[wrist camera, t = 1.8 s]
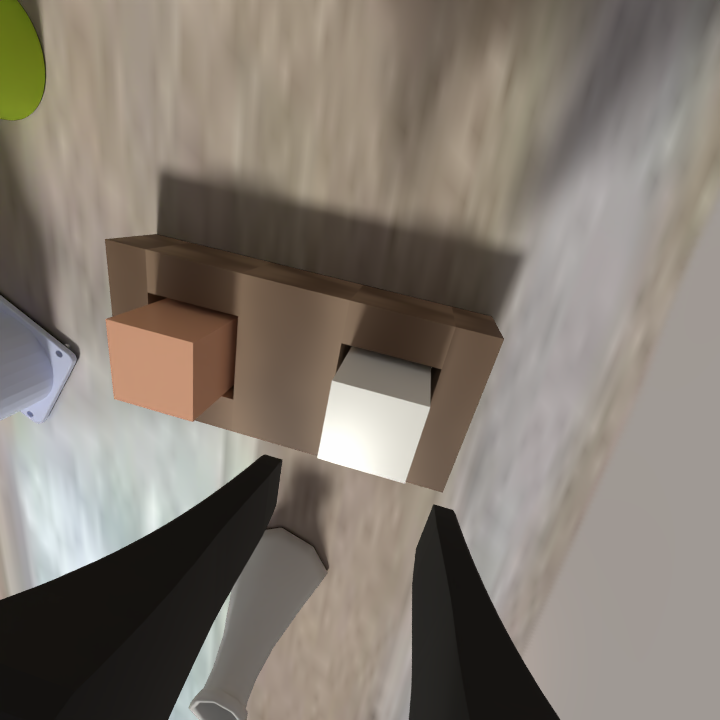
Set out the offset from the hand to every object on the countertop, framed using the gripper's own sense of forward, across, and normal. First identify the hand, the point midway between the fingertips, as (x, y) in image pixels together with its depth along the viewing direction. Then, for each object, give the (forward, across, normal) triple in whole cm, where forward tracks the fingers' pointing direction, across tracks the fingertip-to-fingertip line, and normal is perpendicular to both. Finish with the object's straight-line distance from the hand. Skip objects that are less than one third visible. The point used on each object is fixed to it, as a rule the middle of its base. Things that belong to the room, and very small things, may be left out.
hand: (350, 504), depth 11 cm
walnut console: (+10, +5, 0) cm, 12 cm away
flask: (+11, +4, +19) cm, 22 cm away
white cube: (+8, 0, 0) cm, 8 cm away
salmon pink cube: (+8, +10, 0) cm, 13 cm away
